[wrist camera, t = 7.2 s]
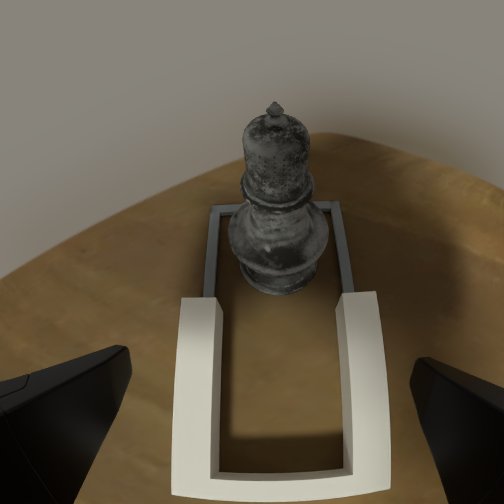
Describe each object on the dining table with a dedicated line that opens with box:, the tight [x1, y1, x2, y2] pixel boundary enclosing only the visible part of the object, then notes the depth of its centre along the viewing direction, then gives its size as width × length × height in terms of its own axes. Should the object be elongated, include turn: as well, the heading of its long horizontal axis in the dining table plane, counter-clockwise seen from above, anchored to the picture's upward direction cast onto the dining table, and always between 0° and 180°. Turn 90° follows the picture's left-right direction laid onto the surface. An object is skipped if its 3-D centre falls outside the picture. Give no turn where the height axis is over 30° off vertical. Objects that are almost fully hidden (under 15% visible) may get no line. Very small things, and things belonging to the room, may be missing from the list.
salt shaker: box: [228, 102, 329, 296], centre depth 16 cm, size 6×6×12 cm
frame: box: [203, 201, 354, 298], centre depth 21 cm, size 8×10×1 cm
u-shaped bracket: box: [171, 291, 391, 502], centre depth 15 cm, size 11×11×2 cm
